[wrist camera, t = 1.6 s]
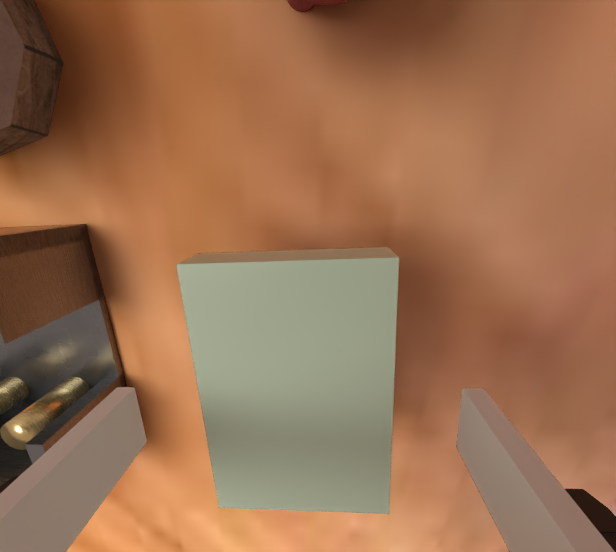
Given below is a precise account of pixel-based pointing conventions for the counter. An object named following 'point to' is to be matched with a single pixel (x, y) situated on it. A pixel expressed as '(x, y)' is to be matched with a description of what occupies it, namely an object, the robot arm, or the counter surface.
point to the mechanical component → (311, 3)
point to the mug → (25, 74)
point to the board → (296, 374)
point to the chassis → (50, 340)
